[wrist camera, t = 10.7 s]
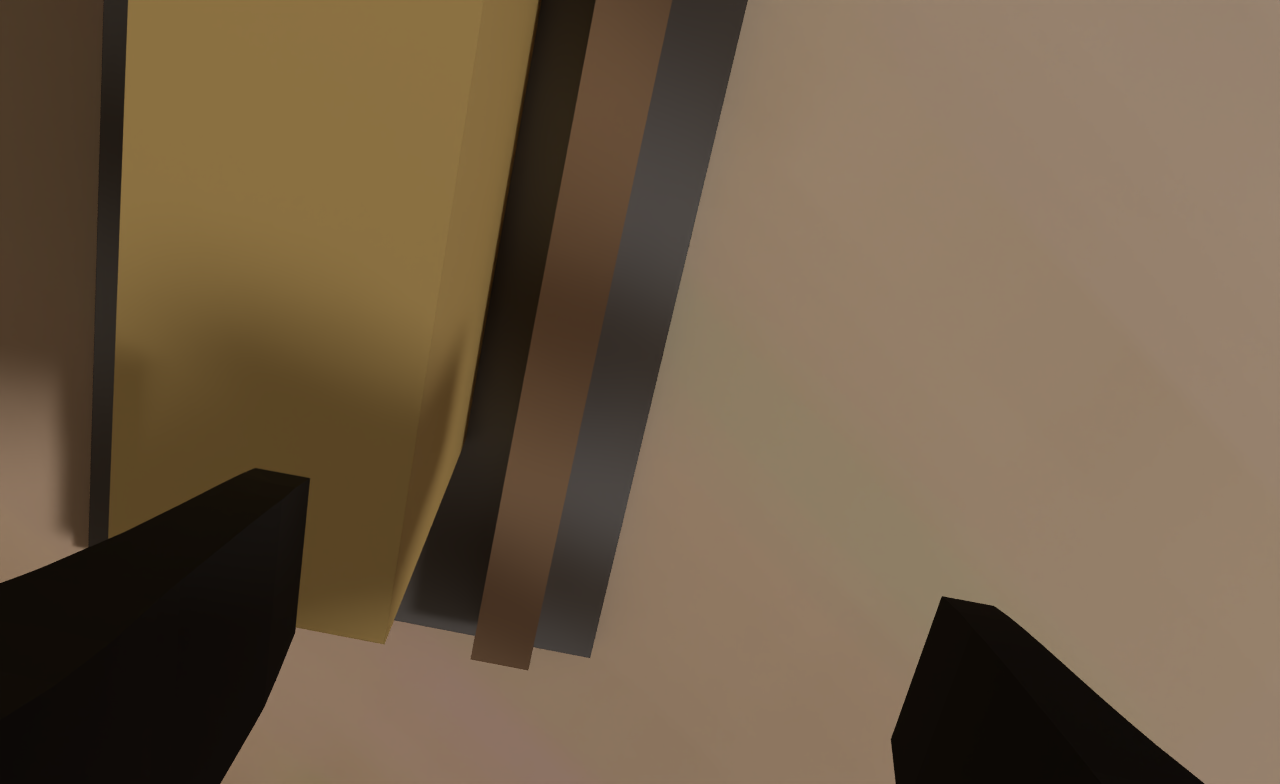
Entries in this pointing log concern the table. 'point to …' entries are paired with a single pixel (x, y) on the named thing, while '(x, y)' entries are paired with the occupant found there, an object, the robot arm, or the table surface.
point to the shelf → (535, 315)
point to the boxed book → (312, 265)
